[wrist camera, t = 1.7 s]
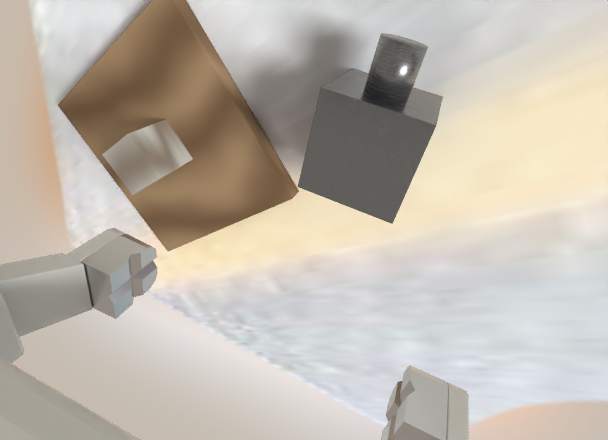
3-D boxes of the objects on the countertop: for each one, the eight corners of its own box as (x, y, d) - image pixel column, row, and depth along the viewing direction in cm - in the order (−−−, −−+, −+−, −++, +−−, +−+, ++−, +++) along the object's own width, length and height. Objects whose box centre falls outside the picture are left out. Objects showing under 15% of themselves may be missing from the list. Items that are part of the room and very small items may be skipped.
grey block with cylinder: (330, 151, 29) (297, 186, 23) (366, 21, 23) (335, 26, 18) (406, 179, 28) (392, 223, 22) (463, 49, 22) (463, 64, 17)
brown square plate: (71, 101, 36) (11, 116, 31) (178, -13, 27) (115, -17, 22) (176, 244, 41) (138, 275, 36) (298, 191, 32) (269, 224, 27)
